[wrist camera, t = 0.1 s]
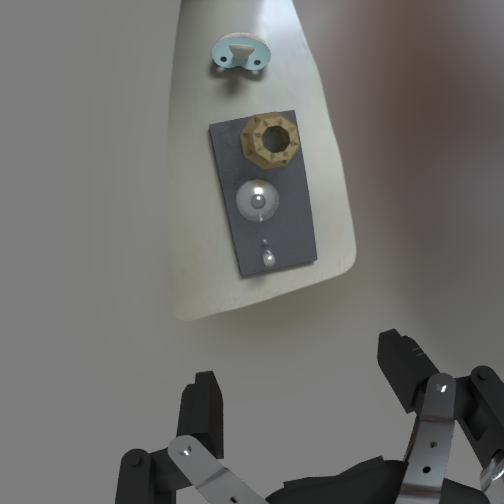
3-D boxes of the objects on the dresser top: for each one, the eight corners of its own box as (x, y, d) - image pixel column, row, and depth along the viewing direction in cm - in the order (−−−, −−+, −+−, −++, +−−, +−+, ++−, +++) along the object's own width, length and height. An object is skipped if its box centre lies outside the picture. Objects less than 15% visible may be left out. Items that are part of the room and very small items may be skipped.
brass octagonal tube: (236, 119, 34) (237, 113, 28) (290, 110, 34) (301, 104, 28) (247, 171, 36) (250, 176, 31) (300, 162, 36) (312, 165, 31)
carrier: (209, 125, 35) (206, 122, 30) (292, 111, 35) (301, 106, 30) (241, 272, 43) (243, 288, 38) (315, 256, 43) (325, 271, 38)
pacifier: (217, 32, 31) (211, 69, 32) (215, 13, 25) (208, 54, 27) (270, 37, 31) (266, 74, 33) (278, 18, 25) (273, 60, 27)
